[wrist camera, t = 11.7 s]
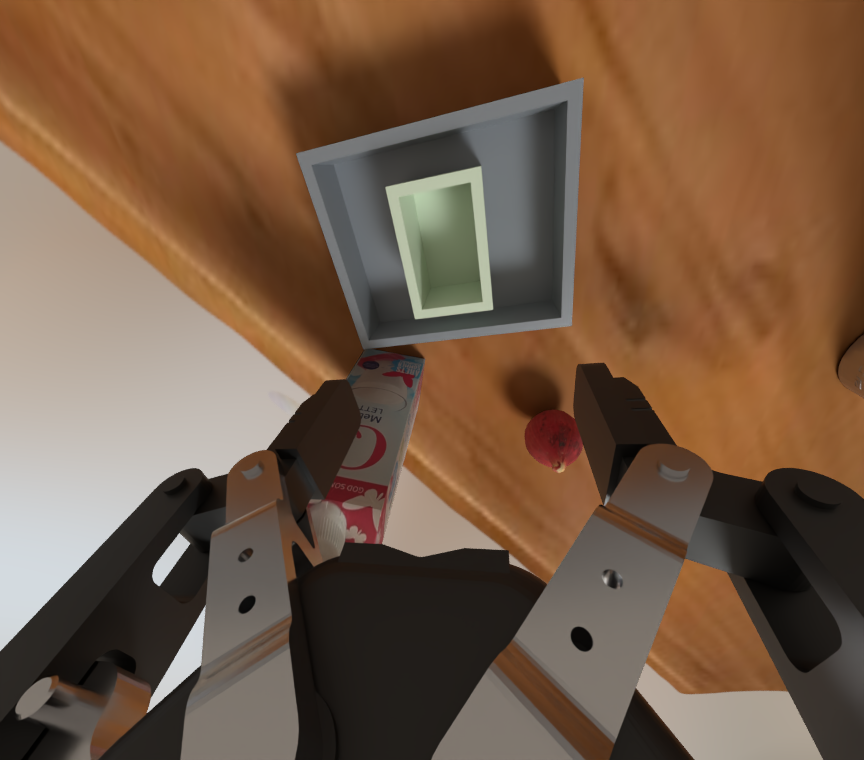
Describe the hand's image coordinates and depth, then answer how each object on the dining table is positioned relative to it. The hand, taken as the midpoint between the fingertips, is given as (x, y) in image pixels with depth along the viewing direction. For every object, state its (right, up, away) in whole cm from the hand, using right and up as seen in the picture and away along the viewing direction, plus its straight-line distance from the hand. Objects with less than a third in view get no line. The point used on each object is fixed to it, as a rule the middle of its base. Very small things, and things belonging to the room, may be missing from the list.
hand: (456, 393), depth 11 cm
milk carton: (-5, +1, +26) cm, 26 cm away
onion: (+13, -4, +26) cm, 29 cm away
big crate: (+1, +13, +16) cm, 21 cm away
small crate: (+1, +13, +15) cm, 20 cm away
